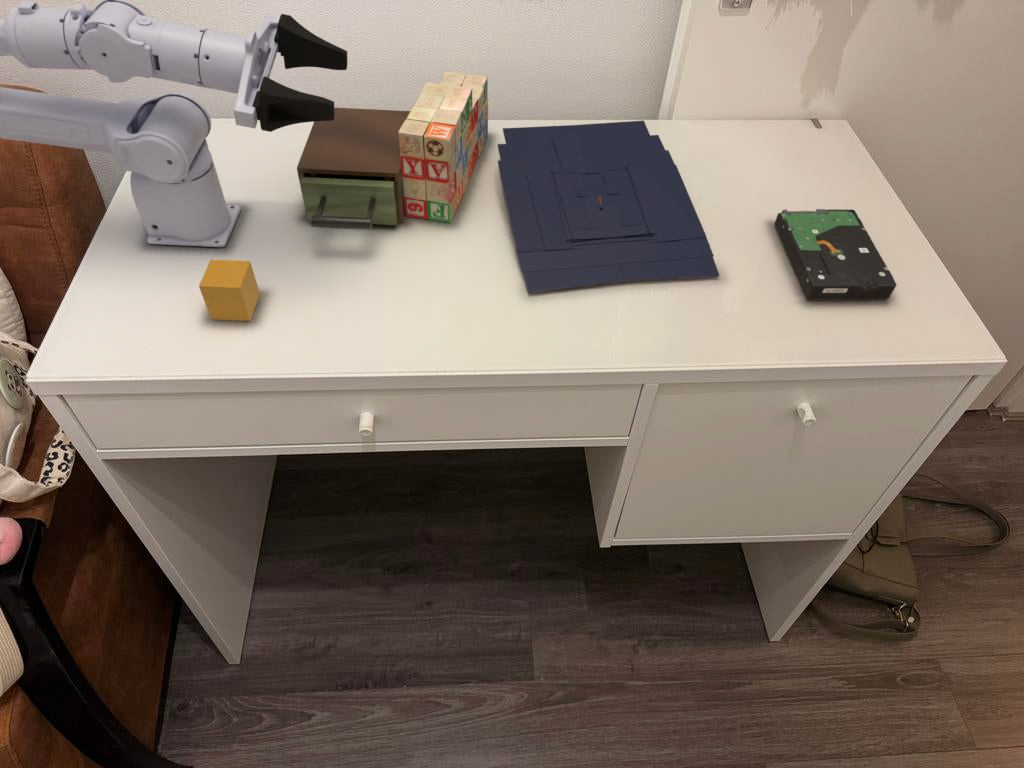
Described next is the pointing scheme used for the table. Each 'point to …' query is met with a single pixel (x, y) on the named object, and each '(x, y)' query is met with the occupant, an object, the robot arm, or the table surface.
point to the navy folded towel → (599, 207)
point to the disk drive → (834, 255)
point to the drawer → (349, 201)
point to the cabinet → (357, 147)
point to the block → (230, 290)
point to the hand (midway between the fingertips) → (340, 85)
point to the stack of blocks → (442, 144)
